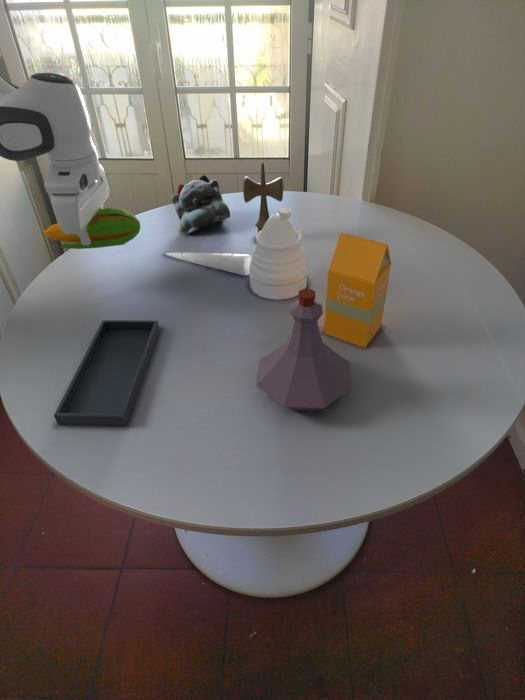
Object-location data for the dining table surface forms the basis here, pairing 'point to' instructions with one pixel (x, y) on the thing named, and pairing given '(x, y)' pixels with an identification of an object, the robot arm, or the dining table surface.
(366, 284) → the orange juice
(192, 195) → the lucky cat figurine
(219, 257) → the unicorn horn
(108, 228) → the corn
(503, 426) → the dining table surface
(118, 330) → the tray
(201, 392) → the dining table surface
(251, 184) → the kendama
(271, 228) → the honey pot
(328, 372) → the flask
